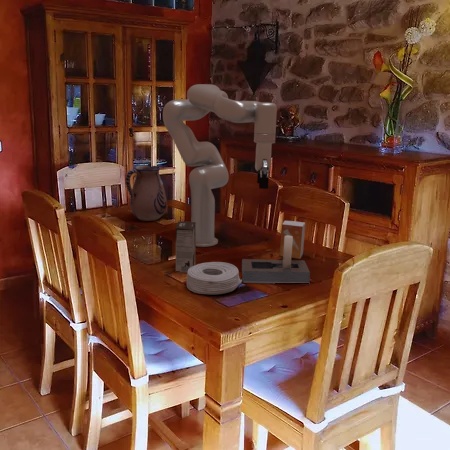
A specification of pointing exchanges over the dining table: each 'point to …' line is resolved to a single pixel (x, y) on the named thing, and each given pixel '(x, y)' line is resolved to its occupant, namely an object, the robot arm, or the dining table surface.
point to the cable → (213, 278)
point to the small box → (298, 237)
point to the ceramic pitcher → (146, 193)
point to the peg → (287, 251)
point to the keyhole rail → (274, 271)
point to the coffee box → (185, 245)
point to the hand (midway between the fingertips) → (262, 185)
